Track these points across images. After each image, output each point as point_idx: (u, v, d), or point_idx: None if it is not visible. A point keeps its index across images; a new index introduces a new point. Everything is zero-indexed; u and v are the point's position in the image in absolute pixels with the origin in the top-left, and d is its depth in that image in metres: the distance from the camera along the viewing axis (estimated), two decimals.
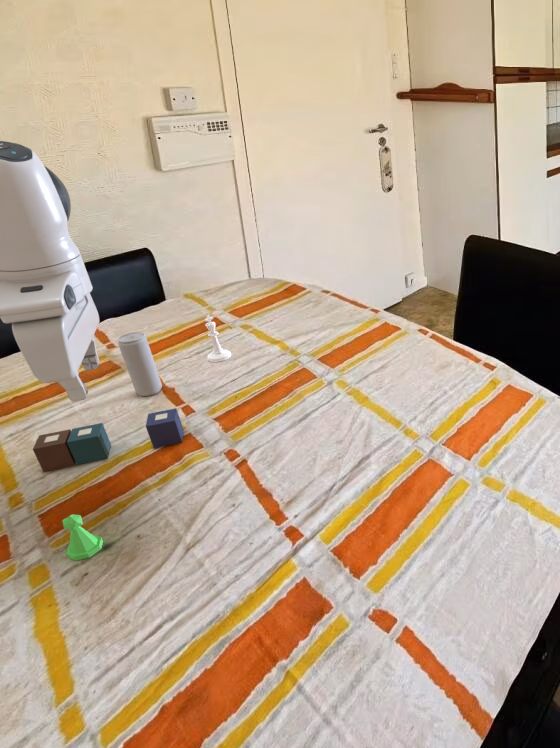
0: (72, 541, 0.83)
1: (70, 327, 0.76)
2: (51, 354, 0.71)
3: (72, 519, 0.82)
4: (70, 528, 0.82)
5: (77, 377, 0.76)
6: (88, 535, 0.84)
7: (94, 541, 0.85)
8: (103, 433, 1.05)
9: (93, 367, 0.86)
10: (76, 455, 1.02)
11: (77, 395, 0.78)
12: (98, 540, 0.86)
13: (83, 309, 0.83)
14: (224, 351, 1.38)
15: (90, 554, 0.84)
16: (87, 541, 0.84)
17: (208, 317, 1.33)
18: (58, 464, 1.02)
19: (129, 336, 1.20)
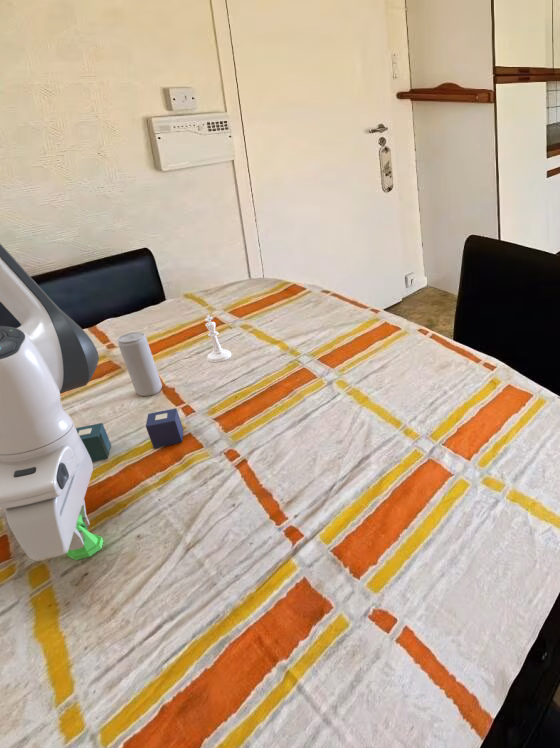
0: None
1: (63, 497, 0.78)
2: (44, 536, 0.73)
3: None
4: None
5: (75, 530, 0.80)
6: (88, 534, 0.85)
7: (94, 540, 0.85)
8: (103, 433, 1.05)
9: None
10: None
11: (75, 544, 0.82)
12: (98, 539, 0.86)
13: None
14: (224, 351, 1.38)
15: (90, 553, 0.84)
16: (87, 540, 0.84)
17: (208, 317, 1.33)
18: None
19: (129, 336, 1.20)
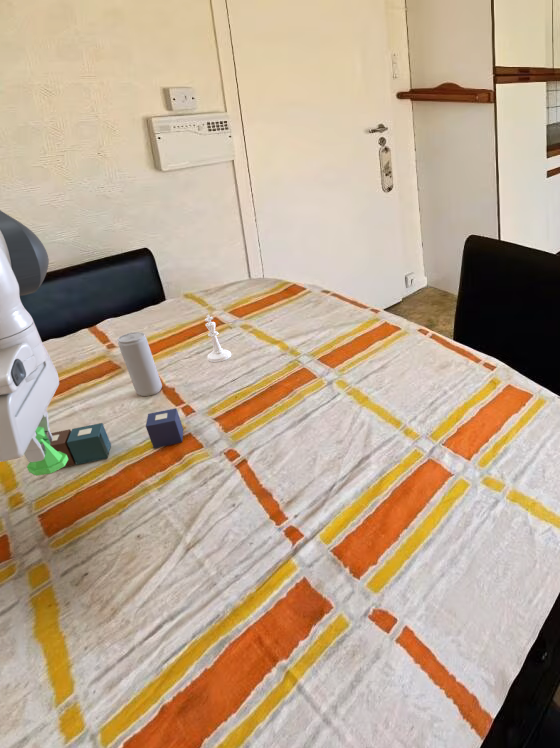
0: None
1: (20, 399, 0.72)
2: None
3: None
4: None
5: (34, 439, 0.75)
6: (51, 450, 0.79)
7: (58, 457, 0.80)
8: (103, 433, 1.05)
9: None
10: (76, 455, 1.02)
11: (35, 456, 0.77)
12: (62, 457, 0.81)
13: (39, 375, 0.79)
14: (224, 351, 1.38)
15: (52, 470, 0.79)
16: (49, 456, 0.79)
17: (208, 317, 1.33)
18: None
19: (129, 336, 1.20)
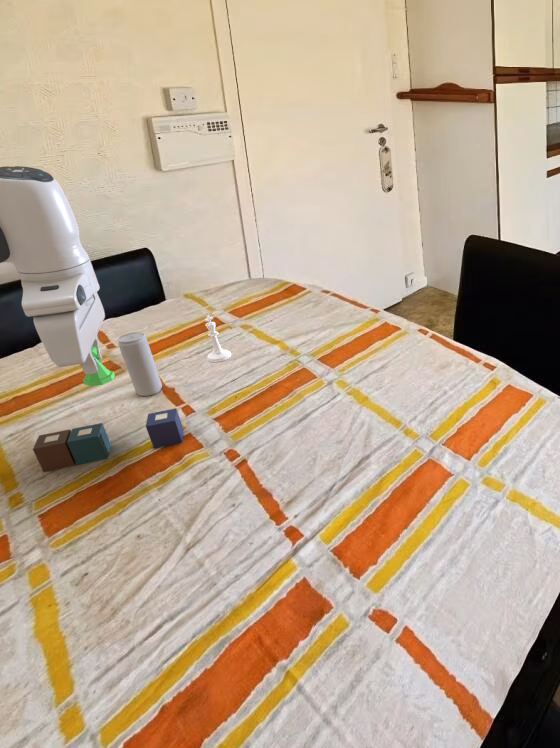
0: None
1: (80, 320, 0.91)
2: (66, 342, 0.86)
3: None
4: None
5: (90, 354, 0.94)
6: (102, 366, 0.98)
7: (107, 372, 0.98)
8: (103, 433, 1.05)
9: None
10: (76, 455, 1.02)
11: (90, 369, 0.95)
12: (110, 373, 0.99)
13: (91, 305, 0.97)
14: (224, 351, 1.38)
15: (103, 382, 0.97)
16: (101, 371, 0.97)
17: (208, 317, 1.33)
18: (58, 464, 1.02)
19: (129, 336, 1.20)
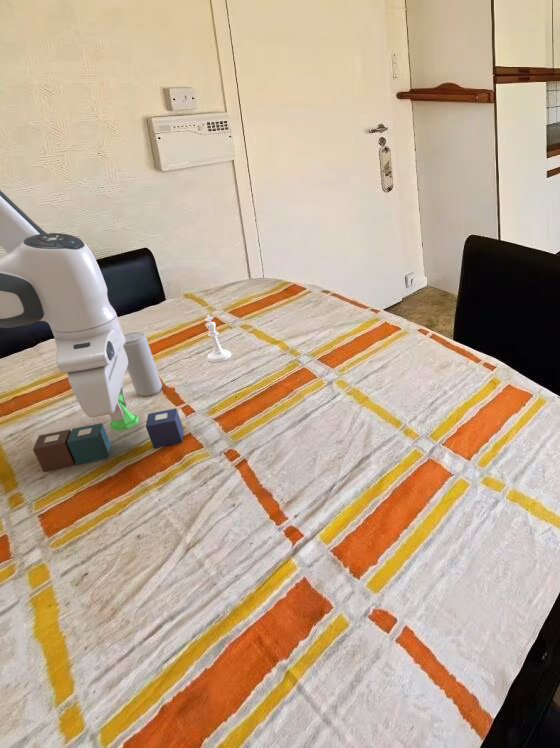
0: None
1: (109, 372, 0.98)
2: (97, 396, 0.93)
3: None
4: None
5: (117, 402, 1.01)
6: (127, 412, 1.05)
7: (132, 417, 1.05)
8: (103, 433, 1.05)
9: None
10: (76, 455, 1.02)
11: (116, 415, 1.02)
12: (135, 417, 1.06)
13: (117, 355, 1.04)
14: (224, 351, 1.38)
15: (128, 426, 1.04)
16: (126, 416, 1.04)
17: (208, 317, 1.33)
18: (58, 464, 1.02)
19: (129, 336, 1.20)
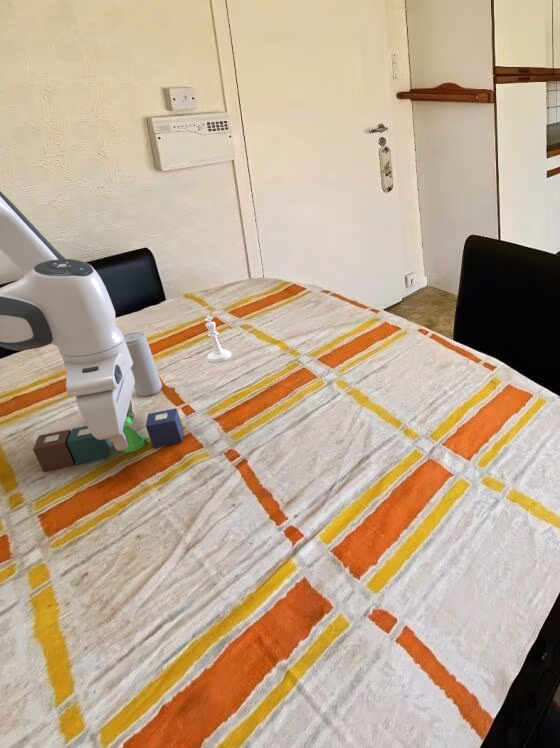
0: None
1: (116, 394, 1.00)
2: (105, 419, 0.94)
3: None
4: None
5: (122, 433, 1.00)
6: (135, 433, 1.07)
7: (139, 439, 1.07)
8: None
9: None
10: (76, 455, 1.02)
11: (121, 446, 1.01)
12: (142, 439, 1.08)
13: None
14: (224, 351, 1.38)
15: (136, 448, 1.06)
16: (134, 438, 1.06)
17: (208, 317, 1.33)
18: (58, 464, 1.02)
19: (129, 336, 1.20)
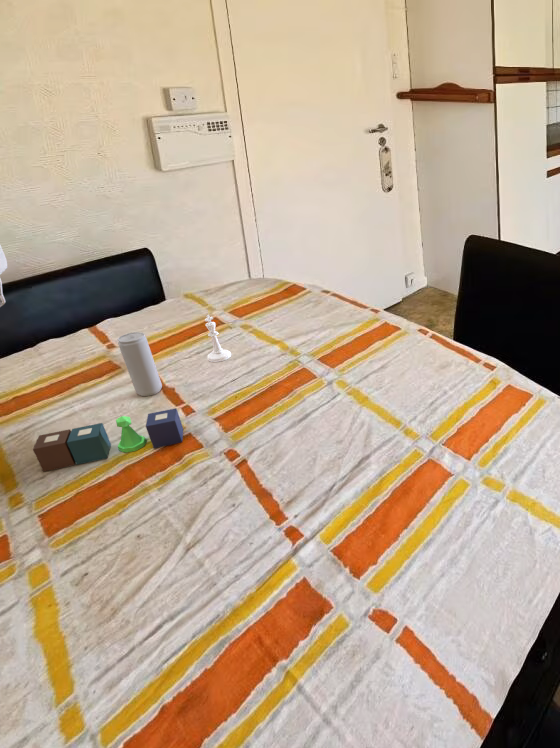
0: (122, 437, 1.06)
1: None
2: None
3: (123, 419, 1.05)
4: (121, 426, 1.05)
5: None
6: (135, 433, 1.07)
7: (139, 439, 1.07)
8: (103, 433, 1.05)
9: None
10: (76, 455, 1.02)
11: None
12: (142, 439, 1.08)
13: None
14: (224, 351, 1.38)
15: (136, 448, 1.06)
16: (134, 438, 1.06)
17: (208, 317, 1.33)
18: (58, 464, 1.02)
19: (129, 336, 1.20)
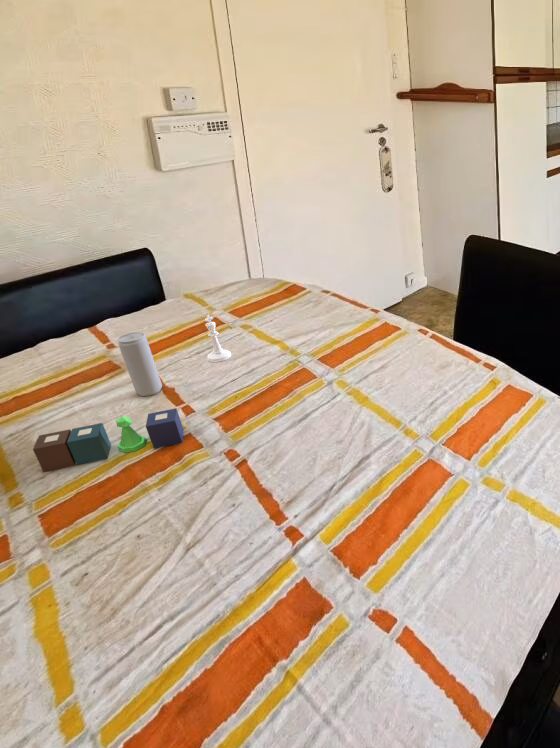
0: (122, 437, 1.06)
1: None
2: None
3: (123, 419, 1.05)
4: (121, 426, 1.05)
5: None
6: (135, 433, 1.07)
7: (139, 439, 1.07)
8: (103, 433, 1.05)
9: None
10: (76, 455, 1.02)
11: None
12: (142, 439, 1.08)
13: None
14: (224, 351, 1.38)
15: (136, 448, 1.06)
16: (134, 438, 1.06)
17: (208, 317, 1.33)
18: (58, 464, 1.02)
19: (129, 336, 1.20)
